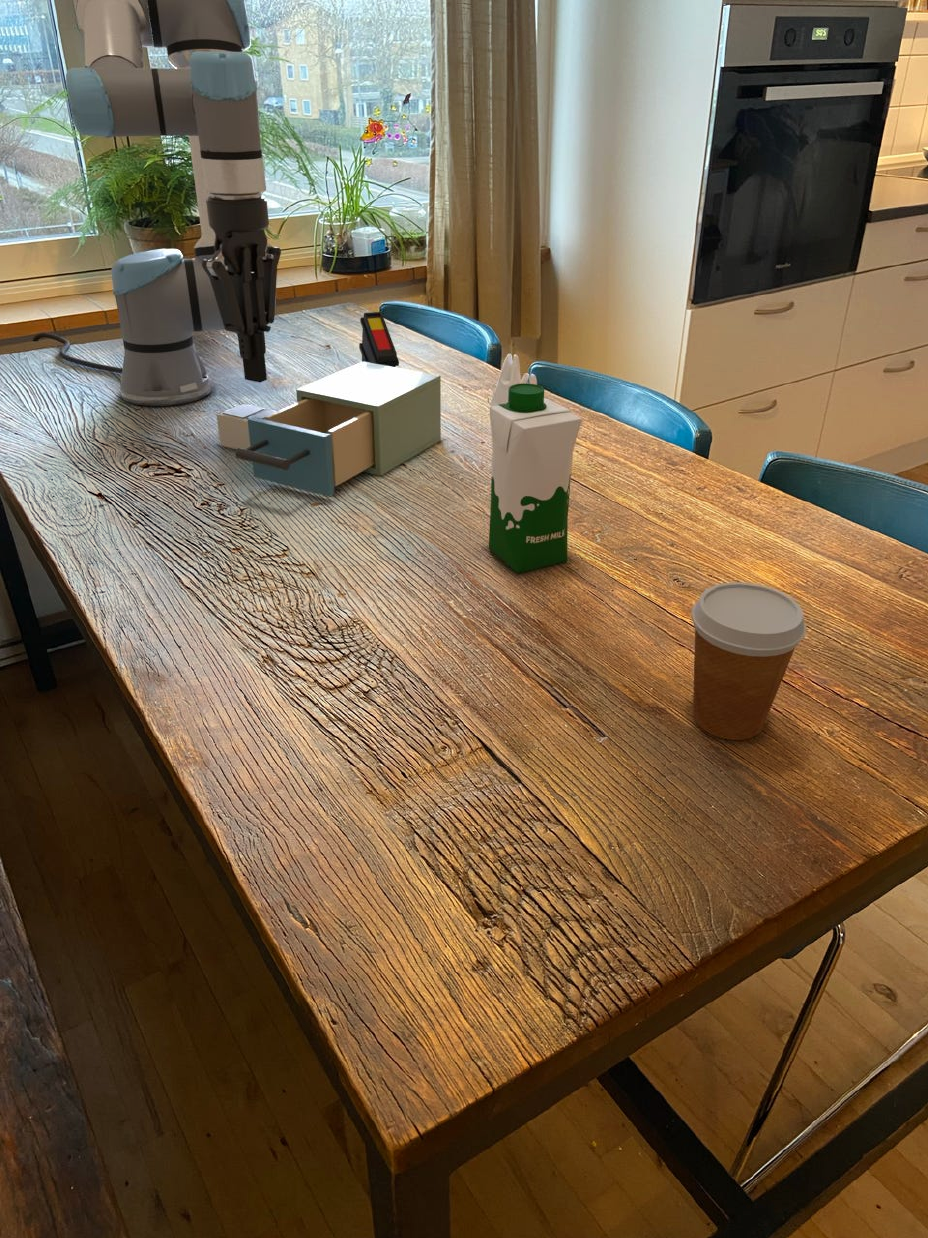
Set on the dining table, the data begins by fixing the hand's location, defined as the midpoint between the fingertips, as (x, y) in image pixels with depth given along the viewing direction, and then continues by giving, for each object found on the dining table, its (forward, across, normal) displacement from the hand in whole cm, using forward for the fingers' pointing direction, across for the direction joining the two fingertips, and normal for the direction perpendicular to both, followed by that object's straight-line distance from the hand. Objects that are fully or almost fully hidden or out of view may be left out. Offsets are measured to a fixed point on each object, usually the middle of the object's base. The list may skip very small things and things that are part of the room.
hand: (256, 379), depth 128 cm
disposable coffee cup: (+13, +26, +76) cm, 81 cm away
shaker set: (+13, -34, +24) cm, 44 cm away
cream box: (+13, -5, -7) cm, 15 cm away
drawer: (+12, +1, +10) cm, 15 cm away
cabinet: (+13, -14, +10) cm, 21 cm away
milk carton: (+13, +6, +46) cm, 48 cm away
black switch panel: (+13, -31, 0) cm, 33 cm away
